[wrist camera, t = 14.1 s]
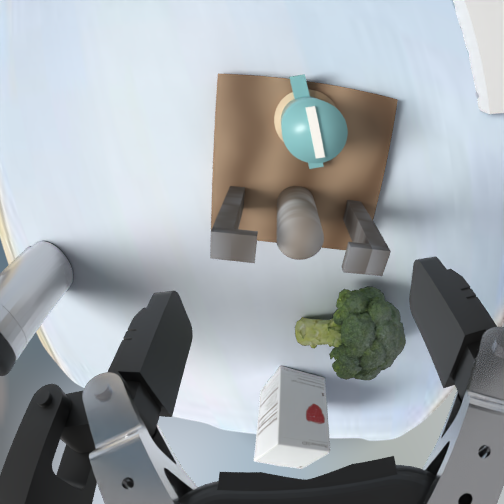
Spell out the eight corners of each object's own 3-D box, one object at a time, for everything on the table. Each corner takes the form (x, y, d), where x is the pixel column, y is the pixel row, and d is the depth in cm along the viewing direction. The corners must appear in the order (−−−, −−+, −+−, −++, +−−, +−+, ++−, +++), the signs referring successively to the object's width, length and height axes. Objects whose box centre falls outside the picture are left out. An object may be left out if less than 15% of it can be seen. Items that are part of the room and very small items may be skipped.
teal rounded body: (270, 80, 26) (268, 79, 20) (322, 71, 25) (336, 68, 19) (291, 169, 30) (294, 194, 24) (339, 161, 29) (356, 184, 23)
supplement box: (326, 376, 50) (333, 452, 37) (301, 400, 55) (302, 470, 42) (280, 364, 49) (277, 444, 36) (258, 390, 53) (252, 462, 41)
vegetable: (276, 288, 38) (398, 288, 29) (321, 285, 48) (415, 284, 39) (275, 382, 37) (391, 400, 28) (319, 359, 47) (410, 368, 38)
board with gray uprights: (213, 229, 37) (189, 292, 27) (220, 74, 28) (189, 70, 17) (361, 245, 37) (387, 311, 26) (392, 98, 27) (447, 111, 17)
